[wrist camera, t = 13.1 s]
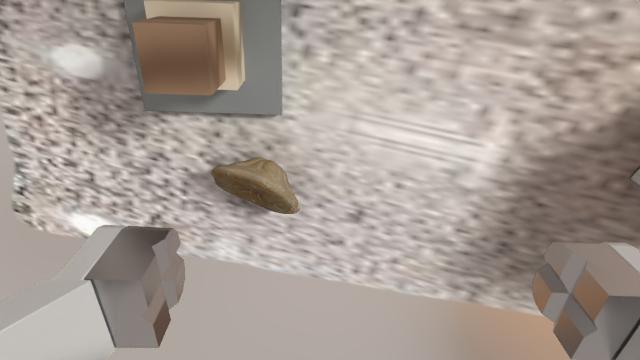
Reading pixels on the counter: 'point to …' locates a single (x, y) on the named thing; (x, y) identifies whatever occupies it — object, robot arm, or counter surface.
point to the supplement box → (636, 177)
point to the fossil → (258, 184)
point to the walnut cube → (180, 54)
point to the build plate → (259, 61)
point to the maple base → (207, 4)
